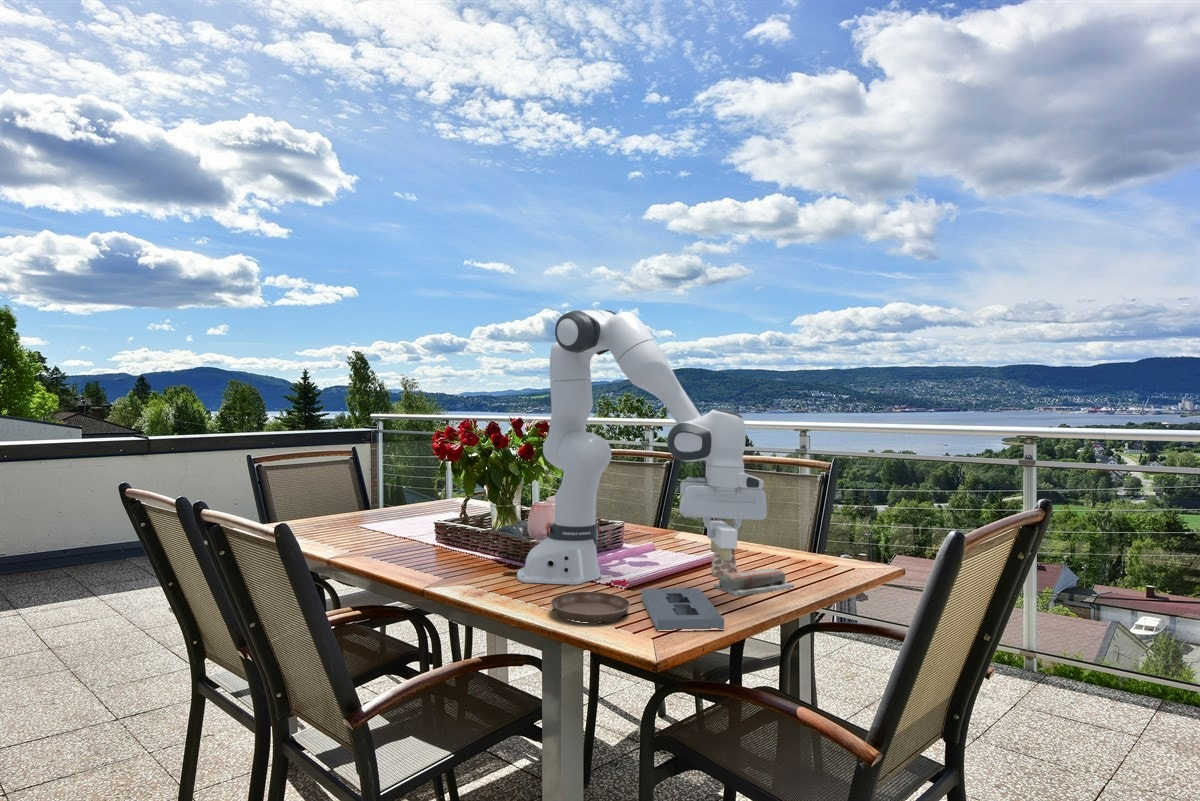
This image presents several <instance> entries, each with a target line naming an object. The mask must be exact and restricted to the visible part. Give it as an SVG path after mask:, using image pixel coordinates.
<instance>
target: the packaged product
mask: <svg viewBox="0 0 1200 801" xmlns="http://www.w3.org/2000/svg"><path fill="white" fill-rule="evenodd" d="M713 584H714V583H713ZM713 586H714V588H715V589H718V590H720V591H723V592H725V593H728V594H730V595H731V596H734V597H737V596H739V597H745V596H744V595H746V596H752V595H751V594H755V595H760V594H759V593H763V594H767V593H766V592H771V593H774V592H773V591H778V590H784V589H790V588H795V584H793V583H790V582H786V573H785V572H784V571H783V570H782V569H780V568H768V569H767V568H763V569H754V570H752V569H751V570H750V569H749V570H745V571H744V570H743V571H742V570H741V571H737V572H730V573H723V574H721V578H719V581H718V583H715V584H714V585H713ZM778 592H779V591H778Z"/></svg>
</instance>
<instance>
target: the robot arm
mask: <svg viewBox="0 0 1200 801" xmlns="http://www.w3.org/2000/svg"><path fill="white" fill-rule="evenodd" d="M554 336H555V340H556V341H555V342H554V343H553V344H552V346H551V347H550V354H549V355H550V356H549V386H550V400H551V401H550V404H551V416H550V422H549V428H548V433H547V434H548V435H547V437H546V438H545V440H544V442H543V446H542V453H543V456H544V458H545V460H546V461H547V462H548V463H549V464H551V465H552V466H553V467H555V468H556V469H559V470H562V471H563V476H562V480H561V482H560V483H561V484H560V485H559V488H558V490H557V491H555V494H554V522H553V523H552V522H547V523H545V530H546V538H544V539H543V540H542V541H540V542H539V543H538V544H536V545H535V546H534V547H533V548H532V549H530V551H529V552H528V554H527V556H526V559H525V563H524V567H521V568H519V569H518V570H517V573H516V579H517V580H518V581H519V582H521V583H530V584H531V583H532V584H550V585H552V584H553V585H572V586H573V585H574V586H575V585H581V584H584V583H587V582H591V581H595V580H598V579H600V578H601V577H602V573H601V570H600V566H599V560H598V553H597V544H598V536H599V534H598V524H597V522H596V517H597V516H596V513H597V497H598V490H599V484H600V481H601V478H602V474H603V472H604V471H605V470H606V469H607V467H608V466H609V464H610V462H611V459H612V449H611V447H610V446H611V445H610V444H609V442H608V441H607V440H606V439H605V438H603V437H602V436H600V435H598V434H596V433H593V432H588V431H587V422H588V418H589V415H590V413H591V412H592V410H593V407H594V400H593V399H594V398H593V387H592V386H593V384H592V374H591V360H592V358H593V357H594V356H595V355H598V356H601V355H603V354H605V353H608V352H610V353H611V355H612V357H613V358H614V359H615V362H616V363H617V365H618V367H619V368H620V370H621V372H622V373H623V375H625V376H626V378H627V379H628V381H629V382H630V383H632V385H634V386H636V387H637V388H640V389H642V390H643V391H645V392H648V393H649V394H651V395H653V396H655V397H656V398H657V399H658V400H660V401H661V402H662V403H663V405H664V406H665V407H666V409H667V411H668V412H669V413H670V415H671V417H672V418H673V420H674V421H675V422H676V425H673V427H671V429H670V431H668V435H667V439H666V443H667V448H668V452H669V453H670V454H671V455H672V457H673V458H675V459H676V460H680V461H682V462H686V463H688V462H689V463H690V462H693V463H694V462H701V463H704V462H705V477H700V476H699V477H693V476H692V477H691V476H687V477H686V478H684V479H682V480H681V482H680V483H679V493H680V502H679V508H678V510H679V513H680V515H681V516H683V517H684V518H699V519H700V518H702V519H703V520H702V522H703V524H704V526H705V528H706V529H707V532H706V533H707V535H706V536H707V538H708V537H713V538H714V537H715V530H714V529H711V527H710V525H709V523H711V521H712V519H723V520H724V519H725V520H726V519H728V520H732V519H733V523H734V525H733V527H732V528H734V529H735V530H737V531H738V530H739V529H740V527H741V525H742V521H743V520H752V521H754V520H755V521H763V520H765V518H766V517H767V515H768V506H767V505H768V503H767V496H766V493H765V491H764V490H763V488H764V484H765V483H764V480H763V479H761V478H758V477H757V476H754V475H752V474H750V473H747V472H746V473H745V462H744V452H745V450H746V424H745V420H744V418H743V416H742V415H741V414H740V413H738V412H736V411H733V410H728V409H724V408H723V409H722V408H713V409H711V410H710V411H709V412H707V413H706V414H704V415H703V414H702V413H701V411H699V409H698V408H697V406H696V405H695V403H694V402H693V400H692V399H691V397H690V396H689V394H688V393H687V392H686V390H685V388H684V387H683V386H682V384H681V383H680V381H679V380H678V378H677V375H676V374H675V372H674V371H673V369H672V368H671V366H670V364H669V362H668V360H667V358H666V357H665V354H664V353H663V351H662V348H661V347H660V345H659V344H658V342H657V340H656V339H655V337H654V336H653V334H652V333H651V332H650V330H649V328H648V327H647V326H646V324H644V322H643V321H641V319H640V317H638V316H637V315H636V314H635V313H633V312H631V311H621V312H618V313H617V312H614V311H611V310H608V309H607V310H606V309H605V310H603V309H595V308H594V309H593V308H591V309H586V310H572V311H568V312H566V313H564V314H563V315H561V316H560V317H559V318H558V320H557V322H556V323H555V327H554ZM708 522H709V523H708ZM599 577H600V578H599Z"/></svg>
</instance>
